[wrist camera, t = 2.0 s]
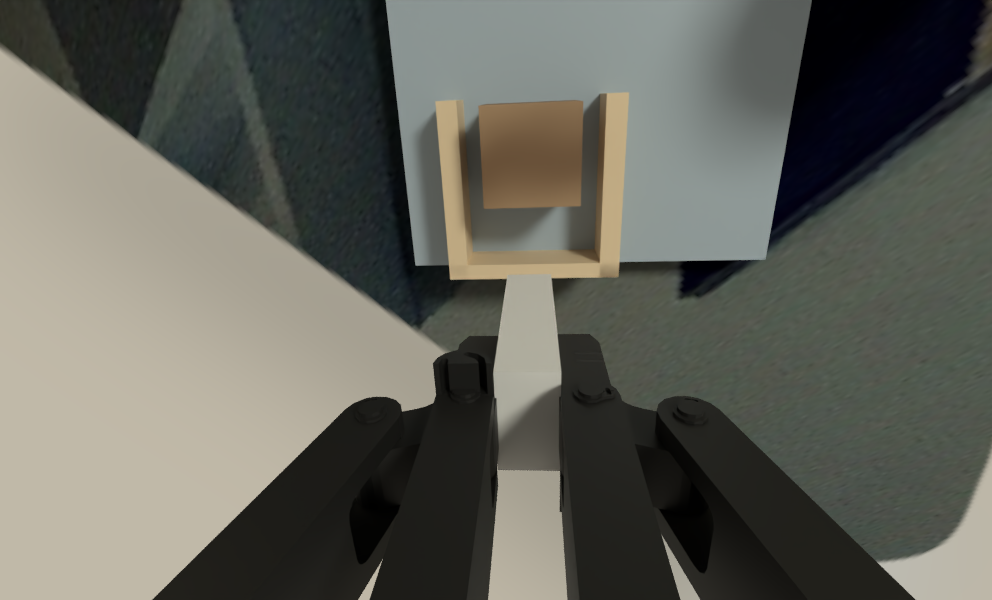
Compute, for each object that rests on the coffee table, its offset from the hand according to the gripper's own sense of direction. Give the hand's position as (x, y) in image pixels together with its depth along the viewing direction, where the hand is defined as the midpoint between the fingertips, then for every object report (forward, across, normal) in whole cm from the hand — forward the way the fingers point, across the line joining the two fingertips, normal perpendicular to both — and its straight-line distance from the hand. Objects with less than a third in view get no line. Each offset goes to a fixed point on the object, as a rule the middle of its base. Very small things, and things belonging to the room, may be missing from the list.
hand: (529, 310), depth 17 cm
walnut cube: (+11, 0, +5) cm, 12 cm away
